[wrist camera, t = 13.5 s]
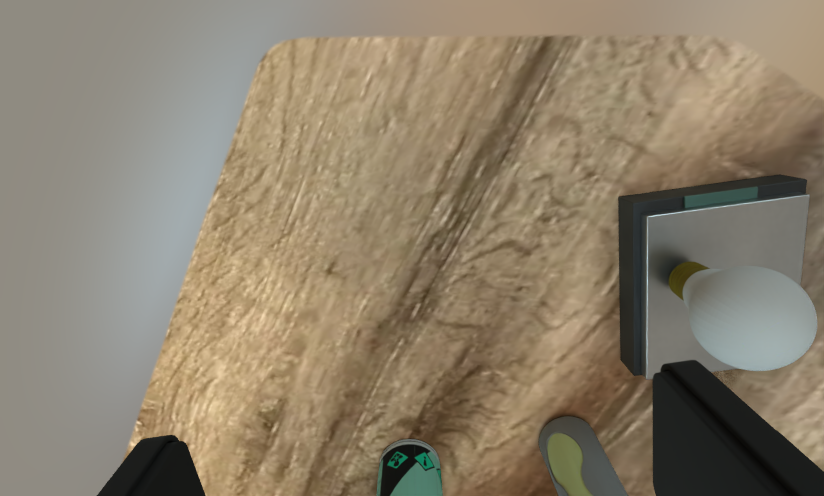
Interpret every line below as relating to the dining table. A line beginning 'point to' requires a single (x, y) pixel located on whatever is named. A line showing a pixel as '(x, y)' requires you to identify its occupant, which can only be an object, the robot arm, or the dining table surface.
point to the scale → (699, 256)
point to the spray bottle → (577, 460)
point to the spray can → (409, 470)
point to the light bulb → (746, 314)
